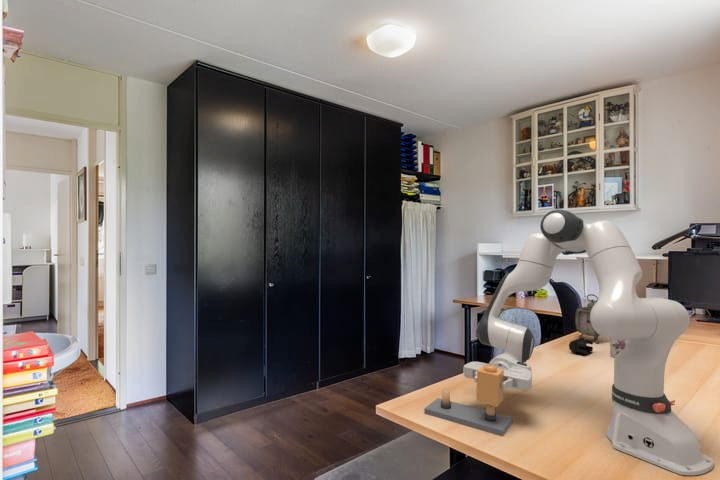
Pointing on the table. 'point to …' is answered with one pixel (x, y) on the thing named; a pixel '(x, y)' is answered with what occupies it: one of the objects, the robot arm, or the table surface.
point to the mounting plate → (469, 415)
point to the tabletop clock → (586, 320)
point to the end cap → (581, 347)
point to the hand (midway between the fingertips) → (489, 383)
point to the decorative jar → (617, 346)
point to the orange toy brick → (490, 385)
